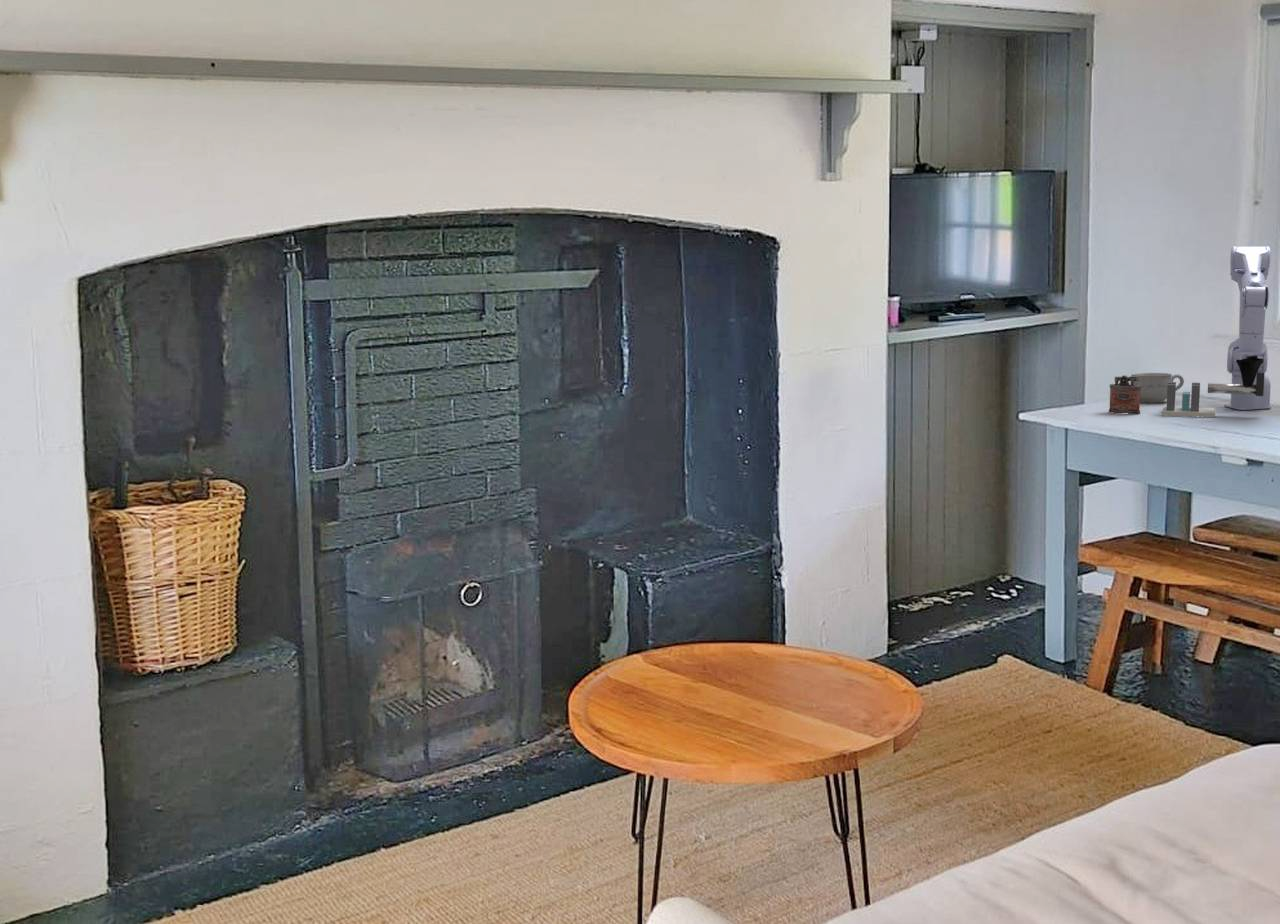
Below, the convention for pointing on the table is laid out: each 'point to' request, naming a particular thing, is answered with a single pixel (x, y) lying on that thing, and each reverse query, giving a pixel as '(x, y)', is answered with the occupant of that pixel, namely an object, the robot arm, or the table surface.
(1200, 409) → the shaft stand
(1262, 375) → the shaft
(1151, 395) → the teacup
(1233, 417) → the table surface
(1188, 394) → the spacer
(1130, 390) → the lighter
